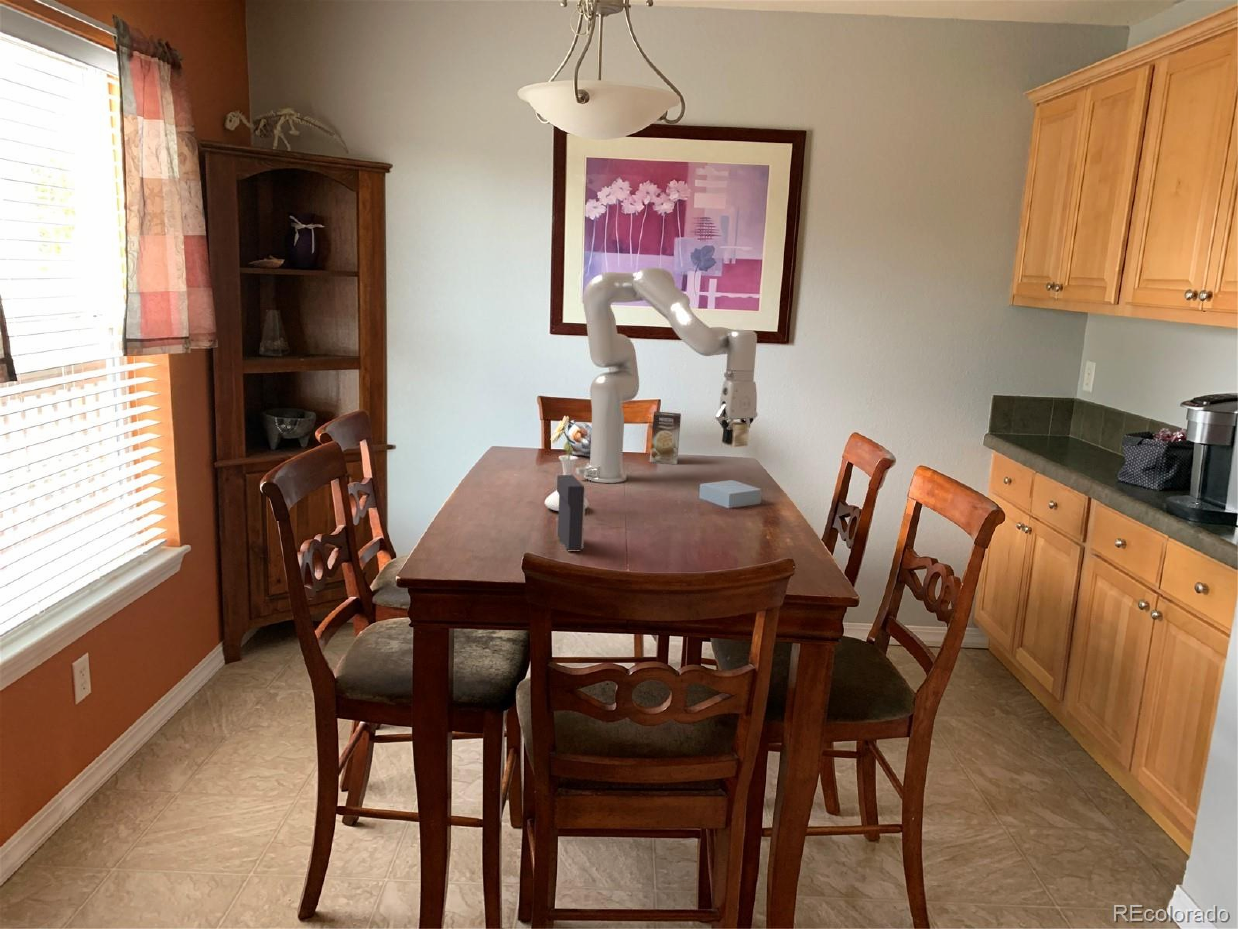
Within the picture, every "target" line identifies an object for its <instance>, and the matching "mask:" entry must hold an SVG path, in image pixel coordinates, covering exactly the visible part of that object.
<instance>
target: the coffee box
mask: <svg viewBox="0 0 1238 929" xmlns="http://www.w3.org/2000/svg"><path fill="white" fill-rule="evenodd" d="M652 417H653V418H652V430H651V431H652V432H651V442H650V453H649V454H650V455H649V463H655V464H668V465H677V464H678V458H679V456H678V455H679V446H680V431H681V421H682V420H681V418H682V414H681V413H680V412H679V413H678V412H670V411H669V412H666V411H655V410H654V411H653V416H652Z"/></svg>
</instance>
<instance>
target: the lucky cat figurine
mask: <svg viewBox="0 0 1238 929" xmlns="http://www.w3.org/2000/svg"><path fill="white" fill-rule="evenodd" d="M591 429H592V426H590V425H589V424H587V423H586V422H581V421H578V422H576V420H574V419H572V420H569V421H568V425H567V433H566V435H567V437H568V439H569V442H570V446H571V447H572V448H573V451H572V452H571V453H570V454H572V455H571V456H573V455H574V456H585V457H590V450H591Z"/></svg>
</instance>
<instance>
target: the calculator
mask: <svg viewBox="0 0 1238 929" xmlns="http://www.w3.org/2000/svg"><path fill="white" fill-rule="evenodd" d="M556 478H557V479H556V490H557V492H558V493H559V511H558V514H557V516H558V517H557V519H558V520H557V538H558V537H559V539H560V540H559V539H558V540H559V542H560V541H562V543H563V544H564V545H565V547H566V548H567V549H568V550H581V551H582V549H584V540H585V538H584V536H585V528H584V527H585V519H586V518H585V515H586V509H585V505H584V501H585V498H586V497H585V495H586V487H585V486H584V485H583V483H581V482H580V481H579V480H578V479H577V478H576V477H575V476H574V475H573V474H572V475H563V474H559V475H557V477H556ZM562 543H561V544H562ZM563 544H562V545H563ZM565 547H564V548H565ZM566 548H565V549H566Z"/></svg>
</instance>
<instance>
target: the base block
mask: <svg viewBox="0 0 1238 929" xmlns="http://www.w3.org/2000/svg"><path fill="white" fill-rule="evenodd" d="M762 492H763V491H762V488H759V487H756V486H752V485H749V484H745V483H743V482H739V481H737V480H733V479H730V480H729V479H728V480H721V481H714V482H706V483H700V484H699V496H698V498H699V499H701V500H704V501H706V500H707V501H706V502H709V503H712V504H716V505H717V506H720V507H723V508H726V509H734V508H740V507H746V506H753V505H754V506H755V505H760V504H761V502H762ZM733 507H734V508H733Z"/></svg>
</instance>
